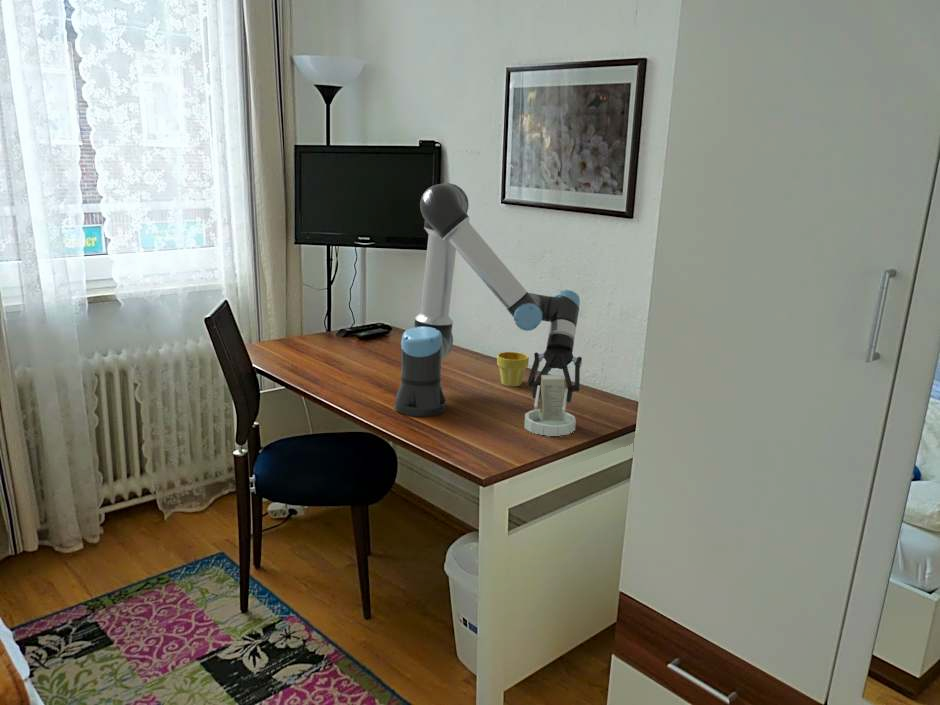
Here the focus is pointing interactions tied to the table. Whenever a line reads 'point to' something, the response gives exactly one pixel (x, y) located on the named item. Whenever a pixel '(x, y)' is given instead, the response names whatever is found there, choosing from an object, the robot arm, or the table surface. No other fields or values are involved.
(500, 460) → the table surface
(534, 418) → the celadon dish
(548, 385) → the skincare box
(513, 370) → the plant pot
